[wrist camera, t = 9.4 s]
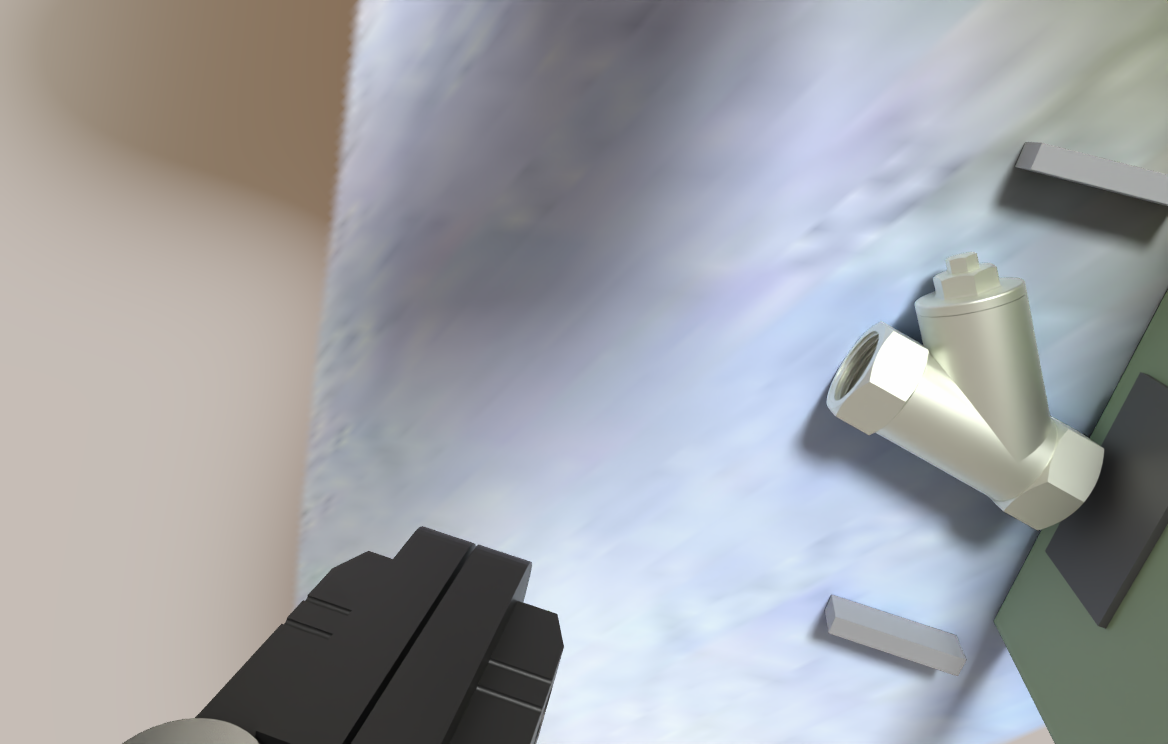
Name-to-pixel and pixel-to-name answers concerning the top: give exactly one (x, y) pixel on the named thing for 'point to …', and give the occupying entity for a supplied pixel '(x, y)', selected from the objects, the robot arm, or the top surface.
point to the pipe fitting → (971, 396)
